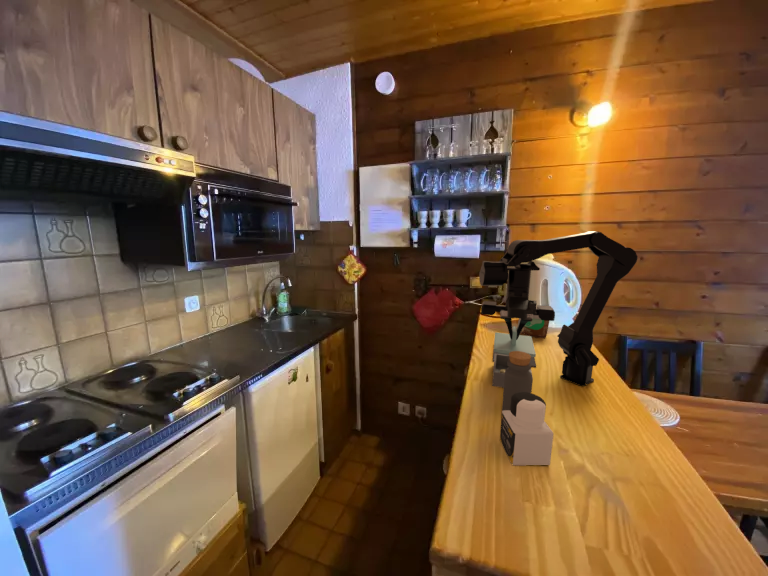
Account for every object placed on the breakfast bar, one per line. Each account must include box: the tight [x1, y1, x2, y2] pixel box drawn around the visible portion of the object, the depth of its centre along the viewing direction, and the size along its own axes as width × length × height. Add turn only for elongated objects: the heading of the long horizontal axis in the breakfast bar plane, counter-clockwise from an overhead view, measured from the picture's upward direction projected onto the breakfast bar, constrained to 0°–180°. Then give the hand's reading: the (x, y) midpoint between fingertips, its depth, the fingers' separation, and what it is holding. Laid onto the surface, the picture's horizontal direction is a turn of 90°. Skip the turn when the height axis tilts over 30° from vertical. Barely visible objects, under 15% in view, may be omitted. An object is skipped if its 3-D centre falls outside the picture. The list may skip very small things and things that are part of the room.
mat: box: [492, 352, 537, 368], centre depth 108 cm, size 16×13×1 cm
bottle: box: [501, 351, 533, 412], centre depth 73 cm, size 6×6×15 cm
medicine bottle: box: [499, 392, 554, 466], centre depth 61 cm, size 7×7×12 cm
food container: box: [523, 315, 550, 339], centre depth 127 cm, size 12×6×10 cm, turn 25°
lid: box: [493, 325, 537, 358], centre depth 90 cm, size 14×10×6 cm
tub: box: [491, 354, 534, 393], centre depth 92 cm, size 14×10×4 cm
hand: (513, 339), depth 90 cm, fingers closed on lid
